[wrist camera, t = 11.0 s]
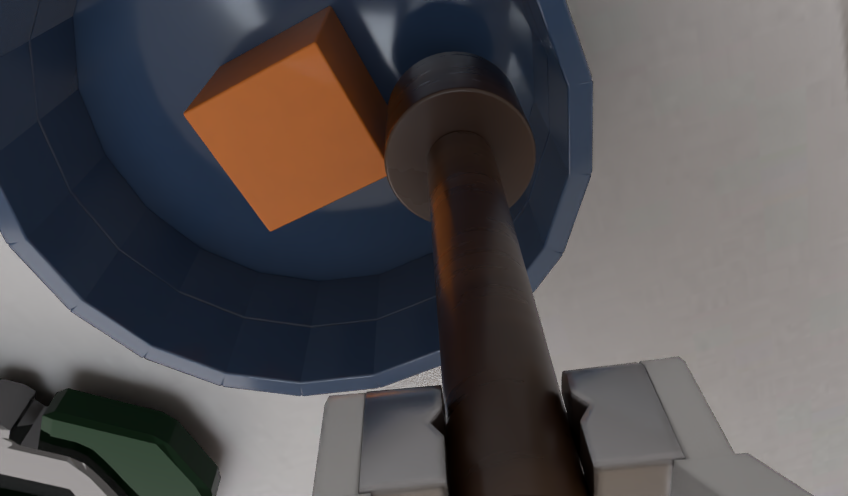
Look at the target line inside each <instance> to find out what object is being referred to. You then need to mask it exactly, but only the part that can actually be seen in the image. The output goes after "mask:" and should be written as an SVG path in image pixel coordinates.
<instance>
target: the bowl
mask: <svg viewBox="0 0 848 496" xmlns="http://www.w3.org/2000/svg"><path fill="white" fill-rule="evenodd" d="M328 6H331V7H332V8H333V10H334V12H335V14H336V15H337V17H338V19H339V21H340V23H341V24H342V26H343V28H344V30H345V31H346V33H347V35H348V37H349V38H350V40H351V42H352V44H353V46H354V47H355V49H356V51H357V53H358V54H359V56H360V58H361V60H362V62H363V63H364V65H365V67H366V69H367V70H368V72H369V74H370V76H371V77H372V79H373V81H374V83H375V85H376V86H377V88H378V90H379V92H380V93H381V95H382V97H383V99H384V100H385V102H386V104H387V106H388V102H389V99H390V95H391V93H392V91H393V89H394V87H395V85H396V83H397V82H398V80H399V79H400V78H401V76H402V75H403V74H404V73H405V72H406V71H407V70H408V69H409V68H410V67H412V66H413V65H414V64H416V63H417V62H419V61H420V60H422V59H425V58H427V57H429V56H432V55H435V54H438V53H443V52H453V51H456V52H466V53H471V54H475V55H478V56H481V57H483V58H485V59H487V60H489V61H490V62H492V63H493V64H494V65H496V66H497V67H498V68H499V69H500V70H501V71H502V72H503V73H504V74H505V75H506V76H507V78H508V79H509V81H510V82H511V84H512V86H513V88H514V91H515V93H516V95H517V98H518V100H519V102H520V105H521V107H522V109H523V112H524V114H525V116H526V119H527V121H528V123H529V126H530V128H531V130H532V133H533V136H534V140H535V146H536V162H535V168H534V172H533V175H532V178H531V180H530V182H529V184H528V186H527V188H526V190H525V191H524V193H523V194H522V196H521V197H520V198H519V199H518V200H517V202H516V203H515V204H513V205H512V206H511V207H510V208H509V210H510V214H511V218H512V221H513V225H514V228H515V232H516V235H517V239H518V243H519V246H520V250H521V253H522V257H523V260H524V264H525V268H526V271H527V275H528V278H529V282H530V285H531V289H532V293H533V292H534V291H535V290H536V289H537V287H538V286H539V285H540V283H541V282H542V281H543V280H544V278H545V277H546V276H547V274H548V273H549V272H550V271H551V269H552V268H553V267H554V265H555V264H556V263H557V261H558V260H559V259H560V258H561V256H562V254H563V252H564V251H565V248H566V245H567V242H568V239H569V236H570V234H571V231H572V228H573V225H574V222H575V220H576V217H577V214H578V211H579V208H580V205H581V203H582V200H583V197H584V194H585V191H586V189H587V186H588V183H589V180H590V177H591V173H592V141H593V81H592V75H591V73H590V70H589V67H588V64H587V61H586V58H585V55H584V52H583V49H582V46H581V43H580V40H579V37H578V35H577V32H576V29H575V26H574V23H573V20H572V17H571V14H570V11H569V8H568V5H567V2H566V0H0V232H1V234H2V236H3V238H4V240H5V241H6V243H7V244H9V247H10V248H11V249H12V250H13V251H14V252H15V253H16V254H17V255H18V256H19V257H20V258H21V259H22V260H23V261H24V263H25V264H26V265H27V266H28V267H29V268H30V269H31V270H32V271H33V272H34V273H35V274H36V275H37V276H38V277H39V278H40V280H41V281H42V282H43V283H44V284H45V285H46V286H47V287H48V288H49V289H50V290H51V291H52V292H53V293H54V294H55V295H56V297H57V298H58V299H59V300H60V301H61V302H62V303H63V304H64V305H65V306H66V307H67V308H68V309H69V310H71V312H72V313H74V314H75V315H77V316H78V317H80V318H81V319H83V320H85V321H86V322H88V323H89V324H91V325H92V326H94V327H95V328H97V329H98V330H100V331H102V332H103V333H105V334H106V335H108V336H109V337H111V338H112V339H114V340H116V341H117V342H119V343H120V344H122V345H123V346H125V347H126V348H128V349H129V350H131V351H133V352H134V353H136V354H137V355H139V356H140V357H142V358H143V357H144V358H145V359H147V360H150V361H153V362H155V363H158V364H161V365H164V366H167V367H169V368H172V369H175V370H178V371H180V372H183V373H186V374H189V375H191V376H194V377H197V378H200V379H202V380H205V381H208V382H211V383H214V384H216V385H219V386H221V385H223V386H224V387H230V388H238V389H246V390H254V391H262V392H270V393H278V394H286V395H295V396H301V395H302V396H310V395H319V394H329V393H338V392H347V391H357V390H366V389H375V388H379V387H380V388H381V387H384V386H387V385H390V384H392V383H395V382H398V381H400V380H403V379H406V378H409V377H411V376H414V375H417V374H419V373H422V372H425V371H428V370H430V369H433V368H436V367H439V366H441V358H440V344H439V330H438V316H437V302H436V288H435V274H434V260H433V246H432V232H431V222H429V221H426V220H424V219H422V218H420V217H418V216H417V215H415V214H414V213H412V212H411V211H410V210H408V209H407V208H406V207H405V206H404V205H403V204H402V203H401V202H400V201H399V199H398V198H397V197H396V196H395V194H394V192H393V191H392V189H391V187H390V185H389V182H388V180H387V176H386V177H384V178H382V179H380V180H378V181H376V182H374V183H372V184H370V185H367V186H365V187H363V188H361V189H359V190H357V191H355V192H353V193H351V194H349V195H347V196H345V197H342V198H340V199H338V200H336V201H334V202H332V203H330V204H328V205H326V206H324V207H322V208H319V209H317V210H315V211H313V212H311V213H309V214H307V215H305V216H303V217H301V218H299V219H297V220H294V221H292V222H290V223H288V224H286V225H284V226H282V227H280V228H278V229H276V230H274V231H271V232H270V231H269V230H268V229H267V227H266V226H265V225H264V223H263V222H262V221H261V219H260V218H259V216H258V215H257V214H256V212H255V211H254V210H253V208H252V207H251V206H250V204H249V203H248V202H247V200H246V199H245V198H244V196H243V195H242V193H241V192H240V191H239V189H238V188H237V187H236V185H235V184H234V183H233V181H232V180H231V179H230V177H229V176H228V175H227V173H226V172H225V171H224V169H223V168H222V166H221V165H220V164H219V162H218V161H217V160H216V158H215V157H214V156H213V154H212V153H211V152H210V150H209V149H208V148H207V146H206V145H205V143H204V142H203V141H202V139H201V138H200V137H199V135H198V134H197V133H196V131H195V130H194V129H193V127H192V126H191V125H190V123H189V122H188V120H187V119H186V118H185V116H184V114H183V113H184V112H185V111H186V109H187V108H188V107H189V105H190V104H191V103H192V102H193V100H194V99H195V98H196V97H197V95H198V94H199V93H200V91H201V90H202V89H203V88H204V86H205V85H206V84H207V83H208V81H209V80H210V79H211V77H212V76H213V75H214V74H215V72H216V71H217V70H218V69H219V67H220V66H222V65H224V64H226V63H228V62H229V61H231V60H233V59H235V58H237V57H238V56H240V55H242V54H244V53H246V52H247V51H249V50H251V49H253V48H255V47H256V46H258V45H260V44H262V43H264V42H265V41H267V40H269V39H271V38H273V37H274V36H276V35H278V34H280V33H282V32H283V31H285V30H287V29H289V28H291V27H292V26H294V25H296V24H298V23H300V22H301V21H303V20H305V19H307V18H309V17H310V16H312V15H314V14H316V13H318V12H319V11H321V10H323V9H325V8H327V7H328Z"/></svg>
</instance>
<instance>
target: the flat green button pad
mask: <svg viewBox="0 0 848 496" xmlns="http://www.w3.org/2000/svg"><path fill="white" fill-rule="evenodd" d="M35 392H36V391H35V390H33V389H31V388H30V387H28V386H27V385H25V384H21V383H17V382H13V381H9V380H5V379H0V496H216V493H217V490H218V486H219V483H220V479H221V476H220V472H219V469H218V466H217V465H216V464H215V463H214V462H213V461H212V459H211V458H210V457H209V456H208V455H207V454H206V453H205V451H204V450H203V449H202V448H201V447H200V446H199V445H198V443H197V442H196V441H195V440H194V439H193V438H192V437H191V435H190V434H189V433H188V432H187V431H186V430H185V429H184V427H183V426H182V425H181V424H180V423H179V422H178V421H177V420H176V419H174V418H172V417H170V416H169V415H167V414H165V413H164V412H161V411H157V410H153V409H149V408H145V407H141V406H137V405H133V404H129V403H125V402H121V401H117V400H113V399H109V398H105V397H101V396H97V395H93V394H89V393H85V392H81V391H77V390H73V389H69V388H68V389H65V390H62V391H60V392H57V393H56V395H55V396H54V398H53V400H52V401H51V403H50V404H49V406H44V405H43V404H41V403H40V402H38V401H37V400H35Z"/></svg>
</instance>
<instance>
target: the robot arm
mask: <svg viewBox="0 0 848 496" xmlns="http://www.w3.org/2000/svg"><path fill="white" fill-rule="evenodd" d="M562 396H563V400H564V404H565V408H566V411H567V413H566V414H567V417H568V421H569V424H570V428H571V432H572V435H573V439H574V442H575V446H576V449H577V453H578V457H579V460H580V464H581V467H582V471H583V474H584V478H585V482H586V485H587V489H588V492H589V496H814V495H812V494H810V493H809V492H807V491H806V490H804V489H803V488H801V487H800V486H798V485H797V484H795V483H793V482H792V481H790V480H789V479H787V478H786V477H784V476H783V475H781V474H779V473H778V472H776V471H775V470H773V469H772V468H770V467H769V466H767V465H766V464H764V463H762V462H761V461H759V460H758V459H756V458H755V457H753V456H752V455H750V454H748V453H743V454H735V453H734V451H733V449H732V447H731V446H730V444H729V442H728V440H727V438H726V436H725V434H724V433H723V431H722V429H721V427H720V425H719V423H718V422H717V420H716V418H715V416H714V414H713V412H712V410H711V409H710V407H709V405H708V403H707V401H706V399H705V397H704V396H703V394H702V392H701V390H700V388H699V386H698V384H697V383H696V381H695V379H694V377H693V375H692V373H691V372H690V370H689V368H688V366H687V364H686V362H685V361H684V360H683V359H681V358H680V357H671V358H663V359H655V360H647V361H640V362H639V363H637V362H634V363H626V364H617V365H609V366H601V367H593V368H584V369H576V370H568V371H563V372H562ZM447 446H448V437H447V425H446V413H445V404H444V398H443V392H442V387H441V385H438V386H426V387H415V388H404V389H393V390H381V391H370V392H367V393H358V394H346V395H333V396H329V397H328V399H327V402H326V404H325V407H324V414H323V421H322V428H321V436H320V443H319V450H318V457H317V465H316V472H315V479H314V486H313V494H312V496H452V493H451V478H450V469H449V463H448V457H447Z"/></svg>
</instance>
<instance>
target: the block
mask: <svg viewBox="0 0 848 496" xmlns="http://www.w3.org/2000/svg"><path fill="white" fill-rule="evenodd" d="M387 107H388V106H387V104H386V102H385V100H384V99H383V97H382V95H381V93H380V92H379V90H378V88H377V86H376V85H375V83H374V81H373V79H372V77H371V76H370V74H369V72H368V70H367V69H366V67H365V65H364V63H363V62H362V60H361V58H360V56H359V54H358V53H357V51H356V49H355V47H354V46H353V44H352V42H351V40H350V38H349V37H348V35H347V33H346V31H345V30H344V28H343V26H342V24H341V23H340V21H339V19H338V17H337V15H336V14H335V12H334V10H333V8H332V7H331V6H328V7H327V8H325V9H323V10H321V11H319V12H318V13H316V14H314V15H312V16H310V17H309V18H307V19H305V20H303V21H301V22H300V23H298V24H296V25H294V26H292V27H291V28H289V29H287V30H285V31H283V32H282V33H280V34H278V35H276V36H274V37H273V38H271V39H269V40H267V41H265V42H264V43H262V44H260V45H258V46H256V47H255V48H253V49H251V50H249V51H247V52H246V53H244V54H242V55H240V56H238V57H237V58H235V59H233V60H231V61H229V62H228V63H226V64H224V65H222V66H220V67H219V69H218V70H217V71H216V72H215V74H214V75H213V76H212V77H211V79H210V80H209V81H208V83H207V84H206V85H205V86H204V88H203V89H202V90H201V91H200V93H199V94H198V95H197V97H196V98H195V99H194V100H193V102H192V103H191V104H190V105H189V107H188V108H187V109H186V111H185V112H184V113H183V114H184V116H185V118H186V119H187V120H188V122H189V123H190V125H191V126H192V127H193V129H194V130H195V131H196V133H197V134H198V135H199V137H200V138H201V139H202V141H203V142H204V143H205V145H206V146H207V148H208V149H209V150H210V152H211V153H212V154H213V156H214V157H215V158H216V160H217V161H218V162H219V164H220V165H221V166H222V168H223V169H224V171H225V172H226V173H227V175H228V176H229V177H230V179H231V180H232V181H233V183H234V184H235V185H236V187H237V188H238V189H239V191H240V192H241V193H242V195H243V196H244V198H245V199H246V200H247V202H248V203H249V204H250V206H251V207H252V208H253V210H254V211H255V212H256V214H257V215H258V216H259V218H260V219H261V221H262V222H263V223H264V225H265V226H266V227H267V229H268V230H269V231H270V232H271V231H274V230H276V229H278V228H280V227H282V226H284V225H286V224H288V223H290V222H292V221H294V220H297V219H299V218H301V217H303V216H305V215H307V214H309V213H311V212H313V211H315V210H317V209H319V208H322V207H324V206H326V205H328V204H330V203H332V202H334V201H336V200H338V199H340V198H342V197H345V196H347V195H349V194H351V193H353V192H355V191H357V190H359V189H361V188H363V187H365V186H367V185H370V184H372V183H374V182H376V181H378V180H380V179H382V178H384V177H386V172H385V164H384V155H385V137H386V119H387Z"/></svg>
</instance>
